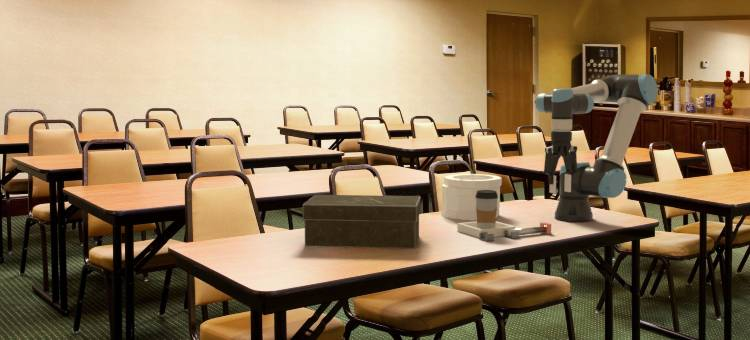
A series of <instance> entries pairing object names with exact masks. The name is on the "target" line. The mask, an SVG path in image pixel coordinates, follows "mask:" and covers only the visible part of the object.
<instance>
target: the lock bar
mask: <svg viewBox="0 0 750 340" xmlns="http://www.w3.org/2000/svg"><path fill="white" fill-rule="evenodd" d="M513 231H519V236H525V235H535V234H536V235H537V234H545V235H551V234H552V223H547V222H540V223H539V226H532V227H522V228H516V229H512V230H507V231H506V234H507V236H508V237H510V236H511V232H513ZM508 237H507V238H508Z"/></svg>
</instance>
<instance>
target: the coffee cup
mask: <svg viewBox="0 0 750 340" xmlns="http://www.w3.org/2000/svg"><path fill="white" fill-rule="evenodd" d="M475 198H476V213H477V220H476V221H477V227H478V228H479V229H490V228H495V224H496V221H497V218H496V212H497V198H498V194H497V191H493V190H479V191H477V194H476V197H475Z"/></svg>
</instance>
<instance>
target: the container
mask: <svg viewBox="0 0 750 340" xmlns="http://www.w3.org/2000/svg"><path fill="white" fill-rule="evenodd" d="M502 185H503V177H501V176H498V175H494V174H493V175H492V174H486V173H485V174H483V173H482V174H481V173H461V174H460V173H459V174H458V173H457V174H451V175H446V176H444V177H443V184H442V185H441V209H440V211H441V213H440V214H441V216H442V217H444V218H447V219H450V220H451V219H453V220H456V219H461V220H462V221H477V213H476V198H475V197H476V194H477V191H479V190H493V191H497V194H498V198H497V212H496V219H497V218H498V217H499V216H500V206H501V204H500V202H501V200H500V198H501V193H500V192H501V186H502ZM461 220H460V221H461Z"/></svg>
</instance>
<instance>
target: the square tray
mask: <svg viewBox="0 0 750 340" xmlns="http://www.w3.org/2000/svg"><path fill="white" fill-rule="evenodd" d="M456 225H457V227H456V228H457V230H456V231H457V232H458V233H462V234H466V235H468V236H472V237H475V238H478V239H479V233H480V232H488V233H487V234H494V238H496V237H505V236H504V230H508V229H517V227H516V226H515V225H512V224H508V223H504V222H501V221H497V220H496V224H495V228H490V229H479V228H478V227H477V220H475V221H469V222H468V221H467V222H458V223H457V224H456Z"/></svg>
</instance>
